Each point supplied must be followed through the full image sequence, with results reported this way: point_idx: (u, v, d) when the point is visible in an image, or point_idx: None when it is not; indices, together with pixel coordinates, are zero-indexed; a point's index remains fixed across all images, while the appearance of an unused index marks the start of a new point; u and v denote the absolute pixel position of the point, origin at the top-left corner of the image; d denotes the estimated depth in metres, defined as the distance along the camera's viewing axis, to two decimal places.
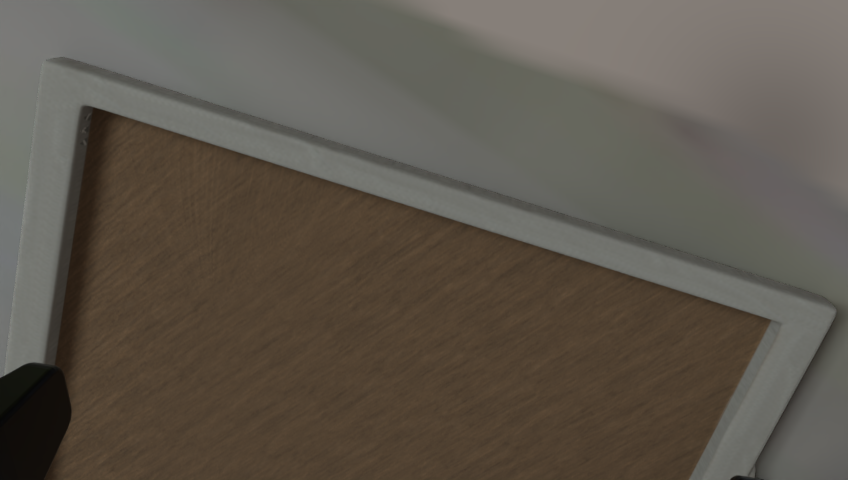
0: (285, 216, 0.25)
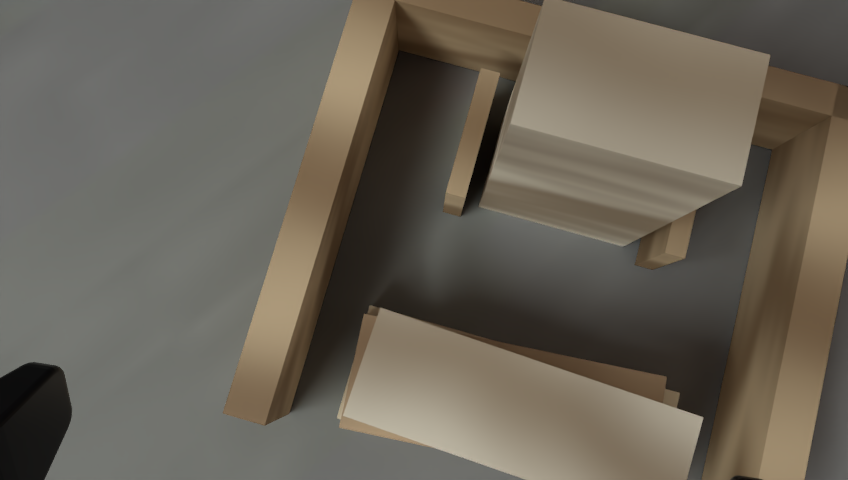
0: None
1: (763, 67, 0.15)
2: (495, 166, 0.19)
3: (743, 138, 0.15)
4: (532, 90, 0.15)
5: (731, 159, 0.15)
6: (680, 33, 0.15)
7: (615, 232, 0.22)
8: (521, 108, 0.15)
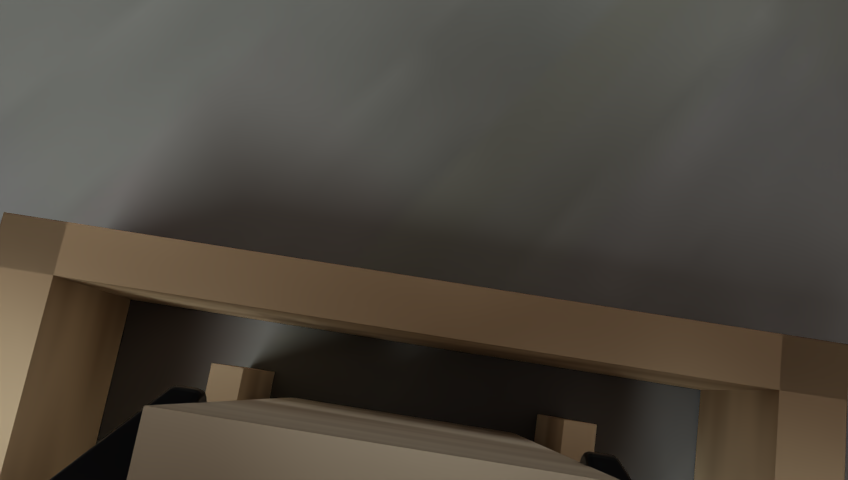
0: None
1: None
2: None
3: None
4: None
5: None
6: (435, 457, 0.07)
7: None
8: None
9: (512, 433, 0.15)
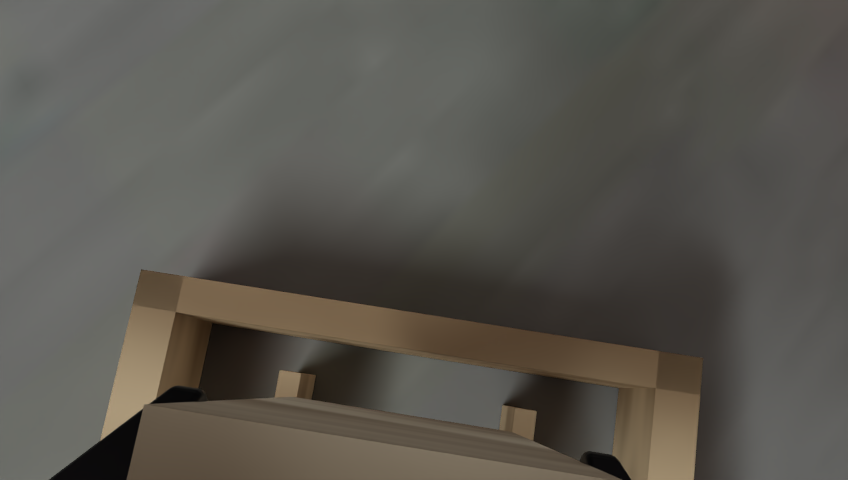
0: None
1: None
2: None
3: None
4: None
5: None
6: (436, 456, 0.07)
7: None
8: None
9: (512, 432, 0.16)
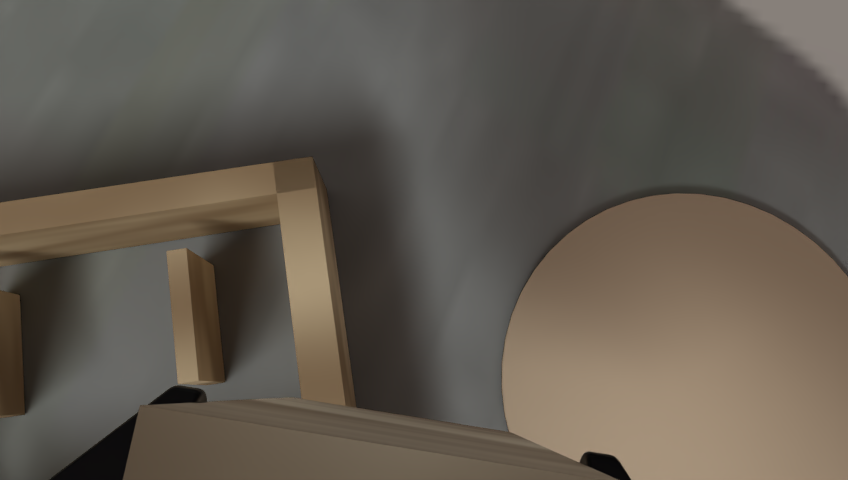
0: None
1: None
2: None
3: None
4: None
5: None
6: (433, 457, 0.07)
7: None
8: None
9: (511, 433, 0.15)
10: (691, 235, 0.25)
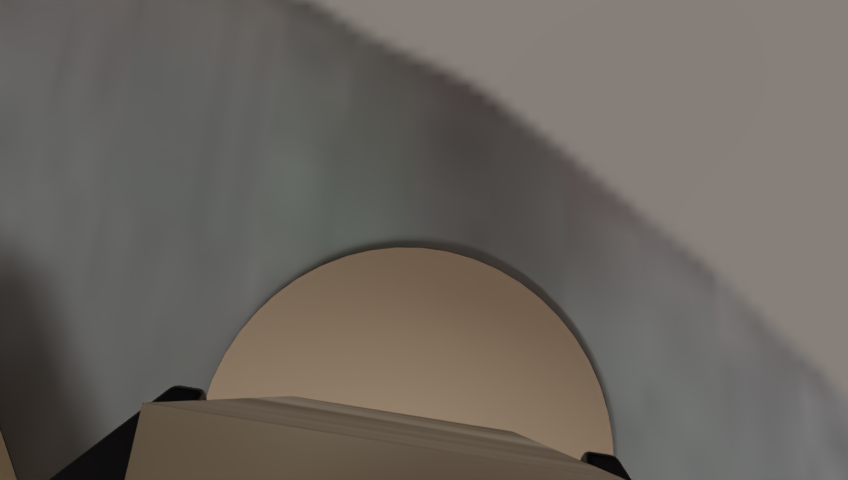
0: None
1: None
2: None
3: None
4: None
5: None
6: (435, 455, 0.07)
7: None
8: None
9: (512, 432, 0.15)
10: (369, 297, 0.23)
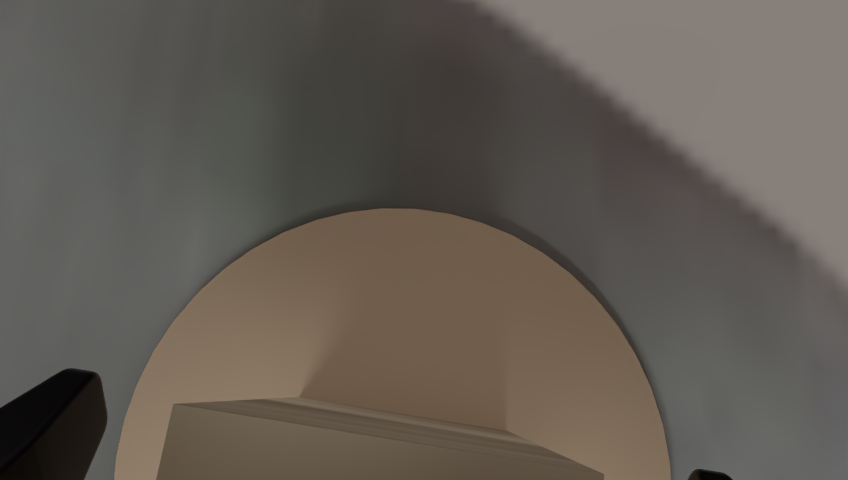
0: None
1: None
2: None
3: None
4: None
5: None
6: (432, 450, 0.08)
7: None
8: None
9: (506, 431, 0.16)
10: (346, 273, 0.18)
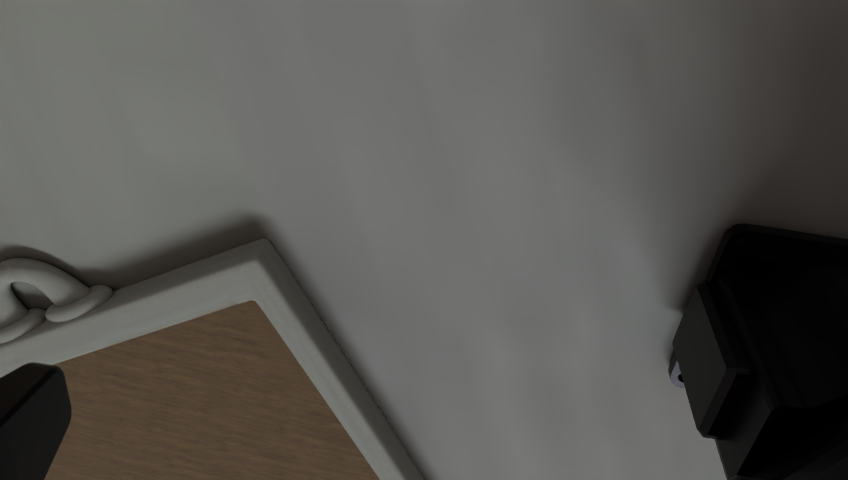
0: None
1: None
2: None
3: None
4: None
5: None
6: None
7: None
8: None
9: None
10: None
